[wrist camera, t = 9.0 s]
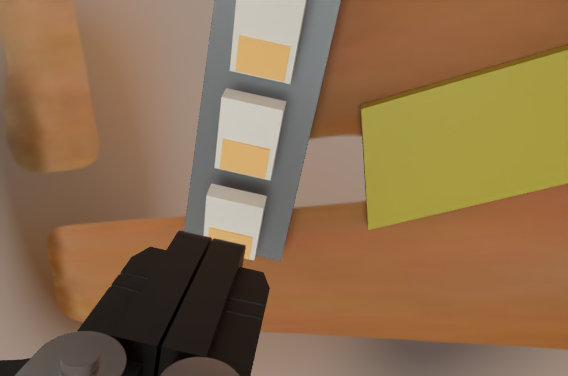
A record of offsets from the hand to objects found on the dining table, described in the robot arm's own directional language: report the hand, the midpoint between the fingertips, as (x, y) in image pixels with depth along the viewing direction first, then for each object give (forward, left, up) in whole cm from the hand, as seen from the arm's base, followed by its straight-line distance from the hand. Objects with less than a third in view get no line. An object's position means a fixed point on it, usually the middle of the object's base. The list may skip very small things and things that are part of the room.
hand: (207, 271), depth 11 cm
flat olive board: (+5, +17, -38) cm, 42 cm away
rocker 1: (-1, -3, -30) cm, 30 cm away
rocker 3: (+16, -3, -30) cm, 34 cm away
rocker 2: (+7, -3, -30) cm, 31 cm away
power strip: (+3, -3, -37) cm, 37 cm away
